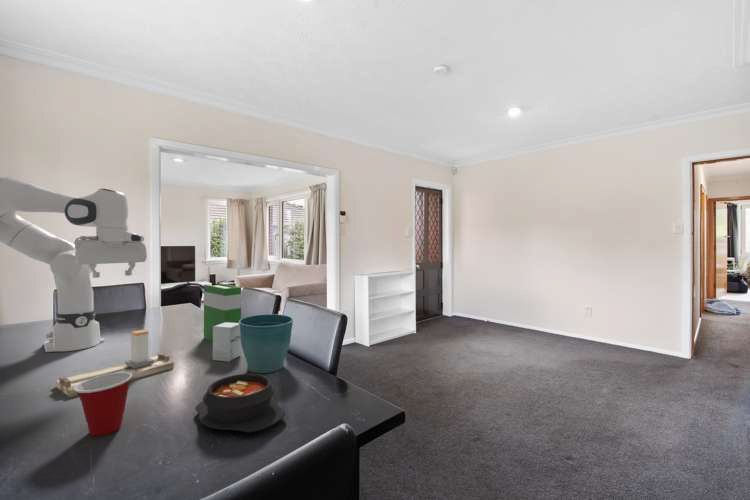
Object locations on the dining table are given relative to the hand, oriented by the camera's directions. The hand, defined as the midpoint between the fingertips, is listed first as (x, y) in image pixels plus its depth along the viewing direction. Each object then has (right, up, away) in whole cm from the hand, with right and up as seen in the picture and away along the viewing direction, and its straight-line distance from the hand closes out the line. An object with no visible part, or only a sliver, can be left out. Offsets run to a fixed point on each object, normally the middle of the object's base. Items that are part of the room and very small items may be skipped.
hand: (112, 276), depth 122 cm
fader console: (+9, -32, -9) cm, 34 cm away
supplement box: (+35, -32, +11) cm, 48 cm away
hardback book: (+23, -31, +33) cm, 51 cm away
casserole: (+56, -34, -32) cm, 73 cm away
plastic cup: (+28, -33, -40) cm, 58 cm away
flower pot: (+53, -32, +1) cm, 62 cm away
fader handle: (+12, -29, -4) cm, 32 cm away
